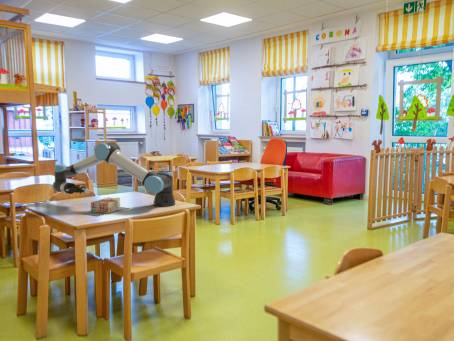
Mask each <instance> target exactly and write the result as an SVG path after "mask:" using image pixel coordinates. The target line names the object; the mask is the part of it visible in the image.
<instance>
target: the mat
mask: <svg viewBox="0 0 454 341" xmlns="http://www.w3.org/2000/svg"><path fill="white" fill-rule="evenodd" d="M127 210H130V207H124V206H120V207H118V210H116V211H113V212H110V213H109V214H112V213H117V212H121V211H127ZM104 214H105V215H108V213H100V212H91V211H87V212H83V213H82V215H88V216H93V217H100V215H101V216H104Z"/></svg>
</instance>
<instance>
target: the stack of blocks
mask: <svg viewBox="0 0 454 341" xmlns="http://www.w3.org/2000/svg"><path fill="white" fill-rule="evenodd" d="M118 207H121V197H106V198H101V199H99V200H95V201H91V202H90V212H100V213H109V214H111V213H110V212H113V211H116V210H118Z"/></svg>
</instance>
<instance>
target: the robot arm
mask: <svg viewBox="0 0 454 341" xmlns="http://www.w3.org/2000/svg"><path fill="white" fill-rule="evenodd" d="M93 153H94V154H92V155H89V156H88V157H85V158H84V159H82V160H79V161H78V162H75V163H73V164H70V165H66V164H55V165H54V169H53V170H54V181H53V183H52V186H51V188H52V190H53V191H55V192H57V193H63V194H64V193H65V195H67V194H69V195H72V194H74V193H75V194H76V193H77V194H80V195H81V194H90V188H87V187H84V186H83V185H82V186H77V185H76V184H75V183H73V182H67V178H69V177H75V176H77V175H79V174H80V173H82V172H85V171H86V170H88V169H91V168H93V167H95V166H97V165H99V164H102V163H104V162H106V163H107V164H109V165H114V166H116V167H117V168H119V169H121V170H122V171H124V172H125V173H127V174H128V175H130V176H131V177H133V178H135V179H137V181H139V182H140V183H141V185H142V186H143V187H144V189H145V191H147V192H148V193H150V194H155V195H154V200H153V206H154V207H155V206H156V207H170V206H171V207H172V206H175V205H176V200H175V197H174V189H173V188H174V184H173V183H174V182H173V181H174V180H173V179H174V175H173V172H170V171H168V172H167V171H156V172H155V171H153V170H148V169H146V168H145V167H142V166H141V165H140V164H138V162H137V163H136V162H135V161H133V160H132V159H130V158H129V157H127V156H125V155H124V154H123V153H121V147H120V145H119V144H118V143H116V142H111V141H109V142H104V141H102V142H99V143H98V144H96V145H95V147H94V149H93Z"/></svg>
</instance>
